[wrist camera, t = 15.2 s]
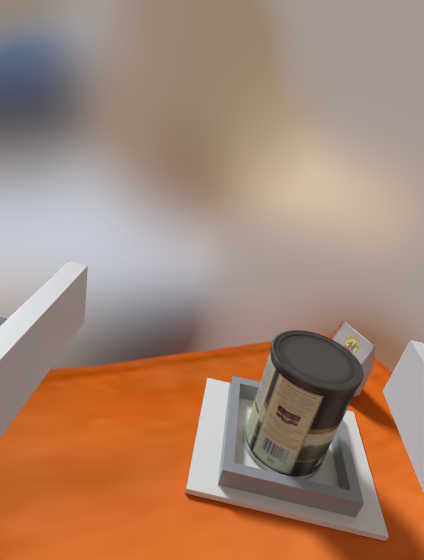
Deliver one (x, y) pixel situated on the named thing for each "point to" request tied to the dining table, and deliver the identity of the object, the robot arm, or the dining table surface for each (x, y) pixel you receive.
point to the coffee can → (300, 402)
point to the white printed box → (356, 349)
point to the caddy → (273, 486)
